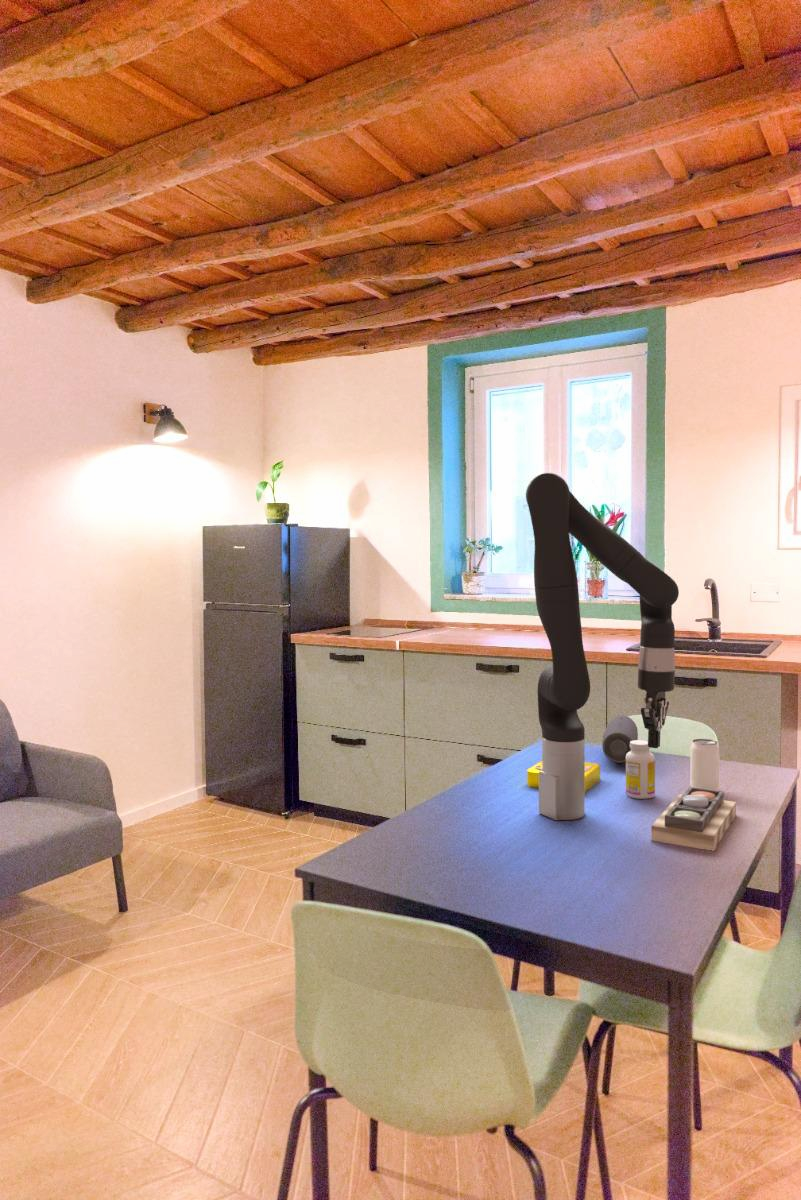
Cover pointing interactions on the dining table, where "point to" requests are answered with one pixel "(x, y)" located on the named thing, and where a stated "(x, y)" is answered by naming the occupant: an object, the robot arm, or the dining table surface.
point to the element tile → (590, 775)
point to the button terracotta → (704, 794)
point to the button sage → (687, 814)
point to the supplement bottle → (640, 771)
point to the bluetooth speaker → (619, 738)
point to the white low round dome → (695, 801)
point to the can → (704, 764)
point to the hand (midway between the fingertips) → (653, 747)
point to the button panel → (695, 822)
